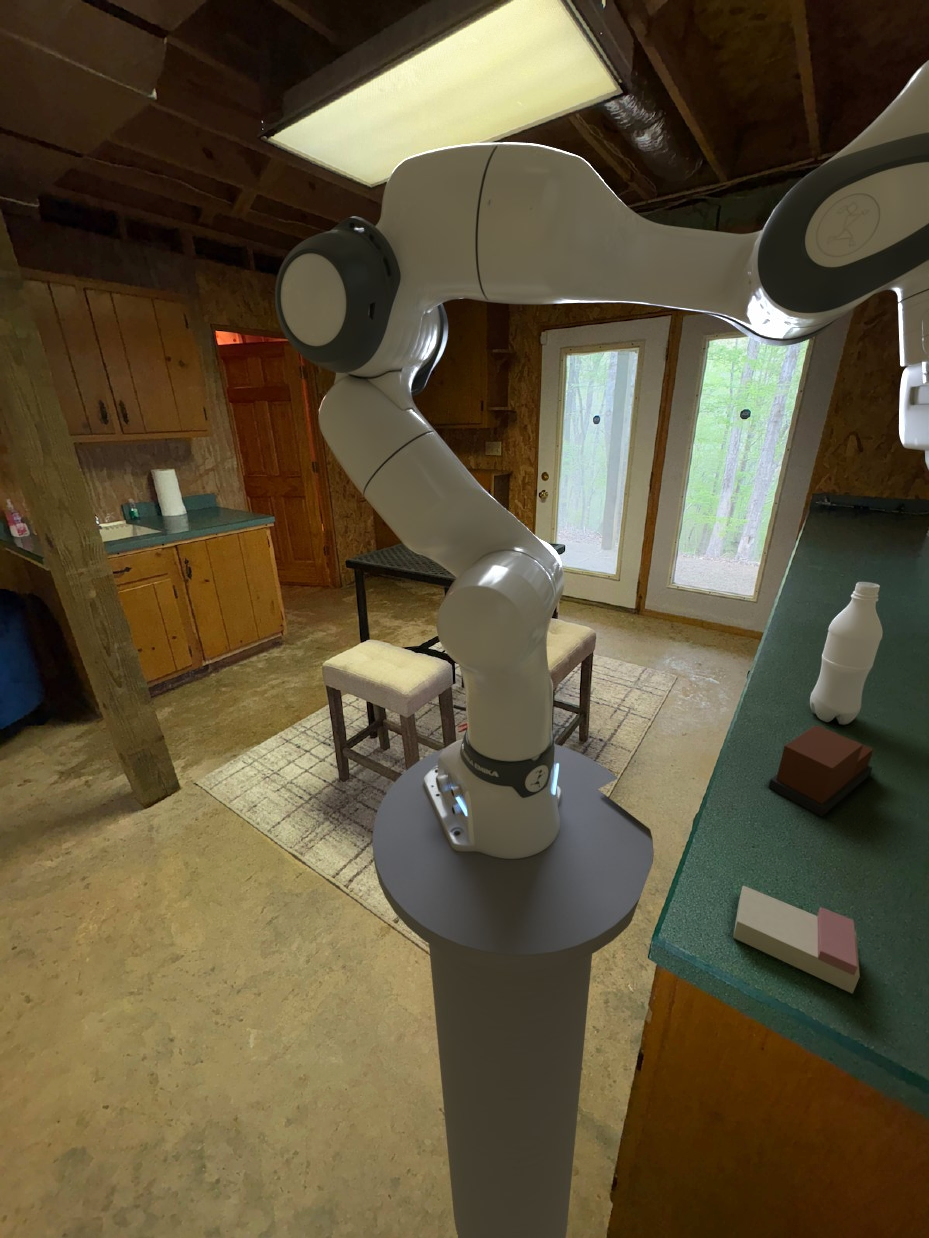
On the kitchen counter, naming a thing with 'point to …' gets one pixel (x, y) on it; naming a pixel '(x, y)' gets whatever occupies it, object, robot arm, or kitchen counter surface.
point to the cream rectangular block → (800, 937)
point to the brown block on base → (821, 769)
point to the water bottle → (848, 657)
